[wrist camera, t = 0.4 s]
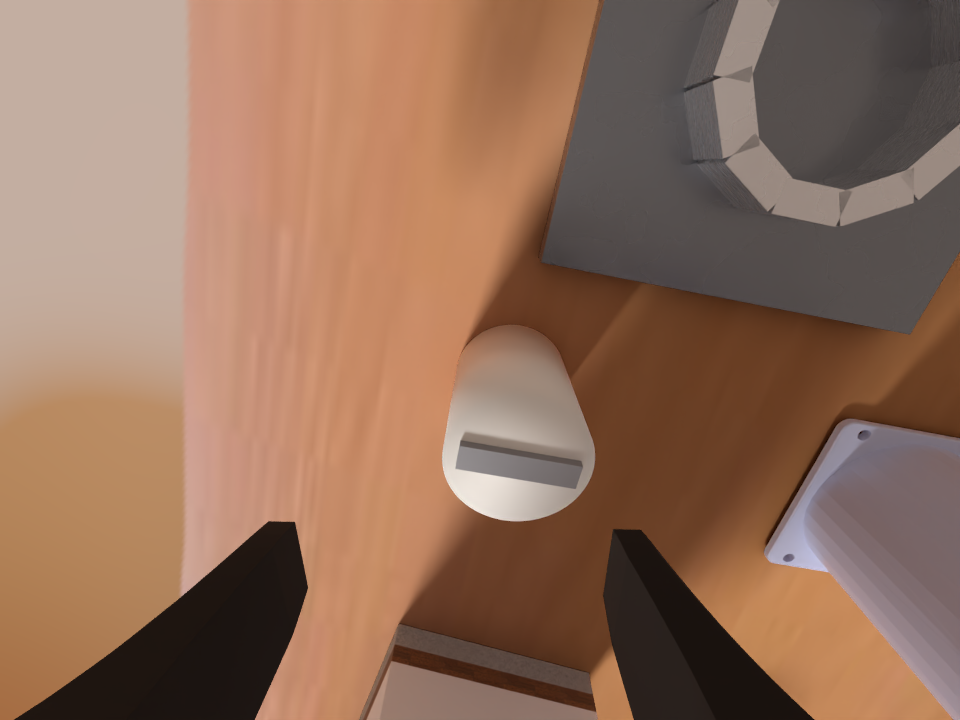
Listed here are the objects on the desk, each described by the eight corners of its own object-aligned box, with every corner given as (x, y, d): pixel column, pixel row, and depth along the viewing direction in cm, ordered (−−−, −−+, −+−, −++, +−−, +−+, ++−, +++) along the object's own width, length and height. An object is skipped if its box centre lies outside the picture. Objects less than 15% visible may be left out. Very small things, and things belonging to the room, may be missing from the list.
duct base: (1165, -157, 12) (1363, -253, 9) (888, 325, 18) (961, 355, 15) (668, -290, 11) (725, -436, 9) (538, 257, 17) (547, 274, 14)
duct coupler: (576, 335, 18) (618, 414, 12) (549, 430, 20) (573, 538, 14) (466, 315, 18) (454, 385, 12) (448, 412, 20) (430, 515, 14)
